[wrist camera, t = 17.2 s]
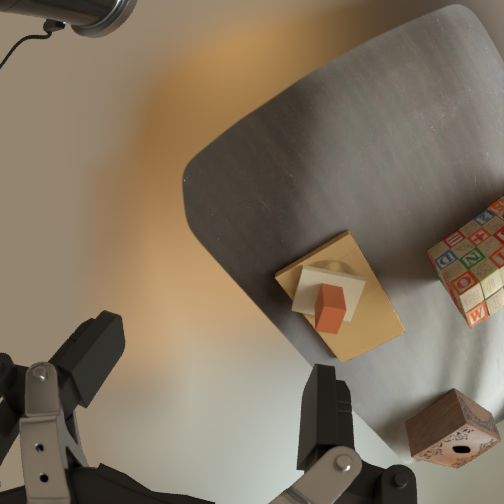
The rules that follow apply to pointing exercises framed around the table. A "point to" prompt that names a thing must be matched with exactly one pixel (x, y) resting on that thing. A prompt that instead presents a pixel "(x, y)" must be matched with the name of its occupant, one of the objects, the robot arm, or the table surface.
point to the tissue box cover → (452, 431)
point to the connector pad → (328, 277)
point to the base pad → (369, 305)
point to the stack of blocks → (474, 264)
